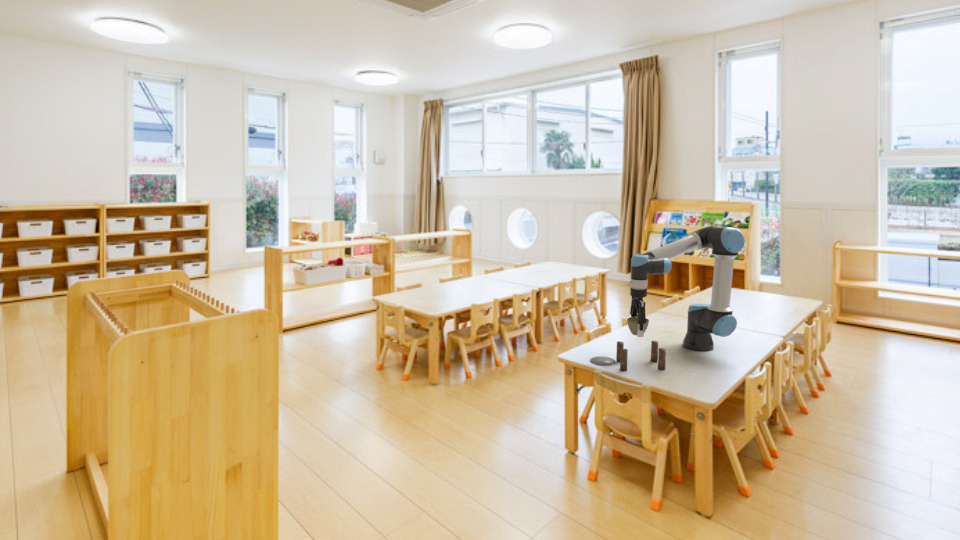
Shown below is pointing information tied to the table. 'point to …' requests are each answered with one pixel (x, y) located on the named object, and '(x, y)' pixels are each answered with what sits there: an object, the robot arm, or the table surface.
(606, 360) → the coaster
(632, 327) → the olive grey bowl
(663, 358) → the posts
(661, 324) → the table surface
